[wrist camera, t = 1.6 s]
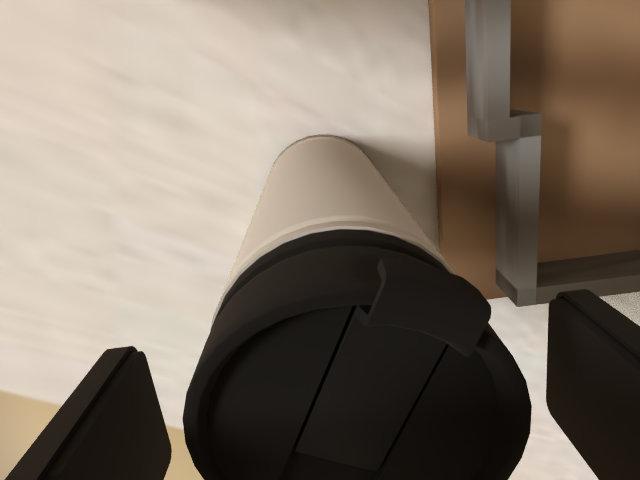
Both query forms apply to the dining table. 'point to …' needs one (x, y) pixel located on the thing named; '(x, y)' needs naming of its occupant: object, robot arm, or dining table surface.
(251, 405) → the travel mug
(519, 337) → the dining table surface
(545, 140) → the keyhole cradle
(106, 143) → the dining table surface
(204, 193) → the dining table surface
